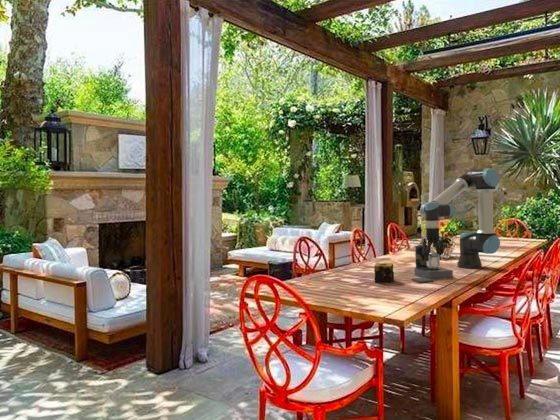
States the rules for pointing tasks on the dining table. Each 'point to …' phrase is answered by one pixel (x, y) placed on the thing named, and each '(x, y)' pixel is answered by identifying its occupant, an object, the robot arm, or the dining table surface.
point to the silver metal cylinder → (433, 261)
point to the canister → (420, 257)
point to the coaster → (422, 280)
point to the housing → (434, 273)
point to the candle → (384, 272)
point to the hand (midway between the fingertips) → (433, 265)
